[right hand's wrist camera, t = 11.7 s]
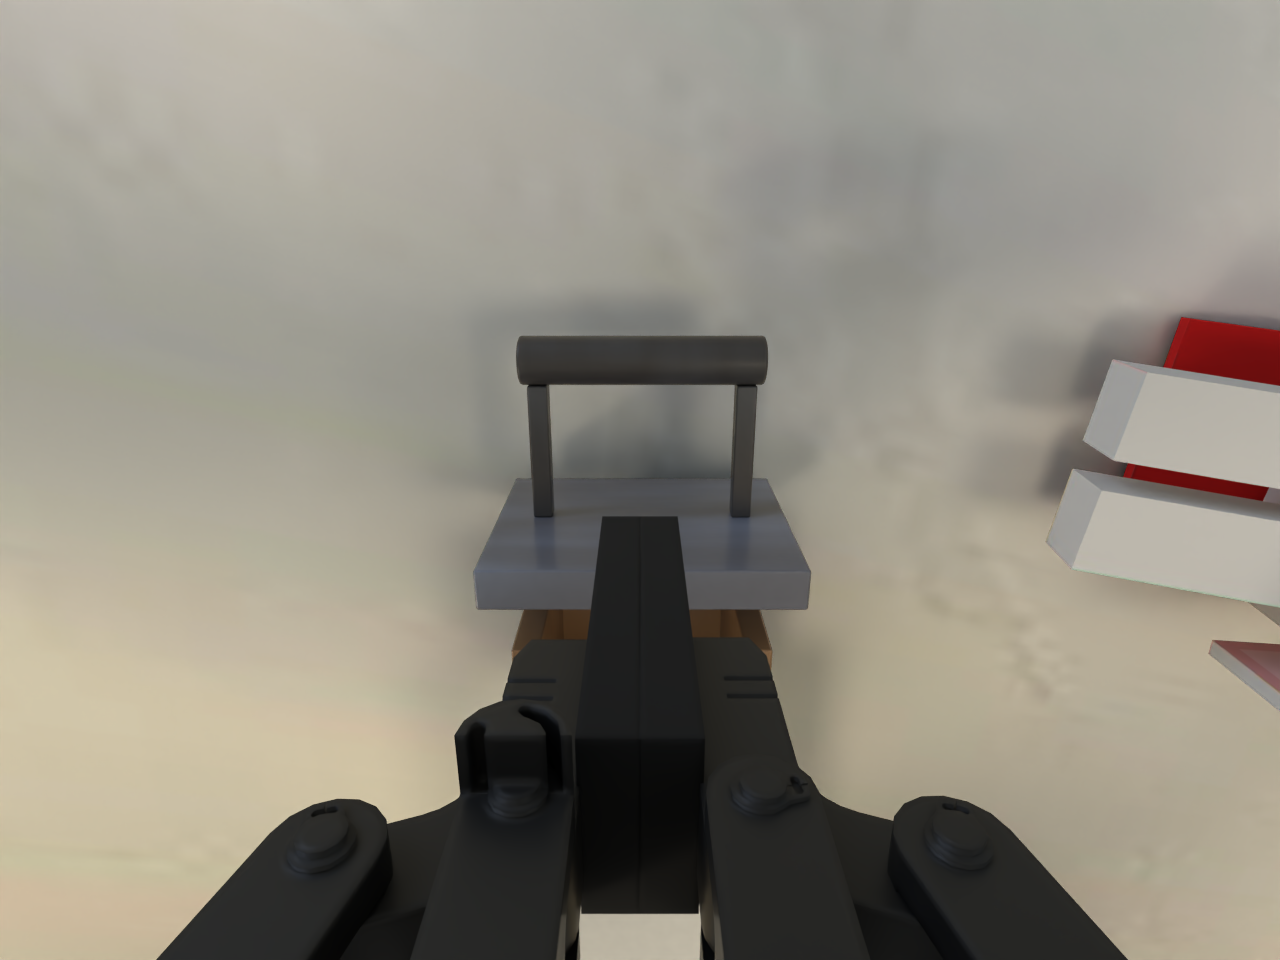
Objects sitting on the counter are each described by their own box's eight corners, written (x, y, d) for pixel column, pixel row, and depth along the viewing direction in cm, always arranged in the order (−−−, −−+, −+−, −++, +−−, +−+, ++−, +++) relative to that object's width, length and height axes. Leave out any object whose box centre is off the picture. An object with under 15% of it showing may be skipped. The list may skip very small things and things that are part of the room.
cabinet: (517, 663, 30) (467, 845, 22) (766, 663, 30) (816, 844, 22) (536, 958, 36) (503, 1195, 27) (745, 958, 36) (779, 1195, 27)
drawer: (506, 320, 25) (454, 361, 18) (777, 320, 25) (830, 362, 18) (536, 819, 32) (508, 986, 25) (746, 819, 32) (775, 986, 25)
